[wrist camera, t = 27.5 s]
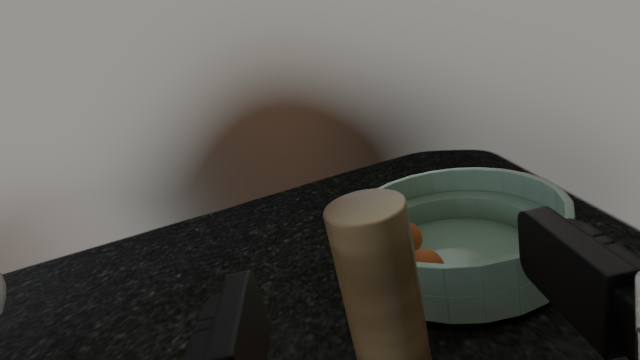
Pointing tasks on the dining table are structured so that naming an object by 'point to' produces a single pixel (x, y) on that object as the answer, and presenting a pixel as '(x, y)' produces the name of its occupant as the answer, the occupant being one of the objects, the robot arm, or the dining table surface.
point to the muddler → (378, 274)
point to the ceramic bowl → (2, 293)
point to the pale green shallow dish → (476, 240)
